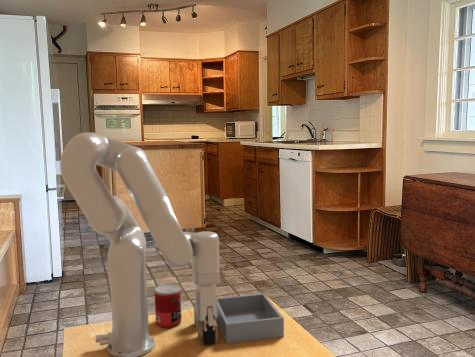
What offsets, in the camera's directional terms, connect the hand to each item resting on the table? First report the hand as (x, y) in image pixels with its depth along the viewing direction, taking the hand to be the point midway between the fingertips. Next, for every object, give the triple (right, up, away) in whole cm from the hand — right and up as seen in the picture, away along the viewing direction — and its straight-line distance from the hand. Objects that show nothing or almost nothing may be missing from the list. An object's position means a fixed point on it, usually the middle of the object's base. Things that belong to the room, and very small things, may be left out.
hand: (207, 338), depth 123 cm
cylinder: (-2, 0, +10) cm, 10 cm away
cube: (0, -1, 0) cm, 1 cm away
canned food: (-13, 0, +11) cm, 17 cm away
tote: (+11, +1, +9) cm, 14 cm away
